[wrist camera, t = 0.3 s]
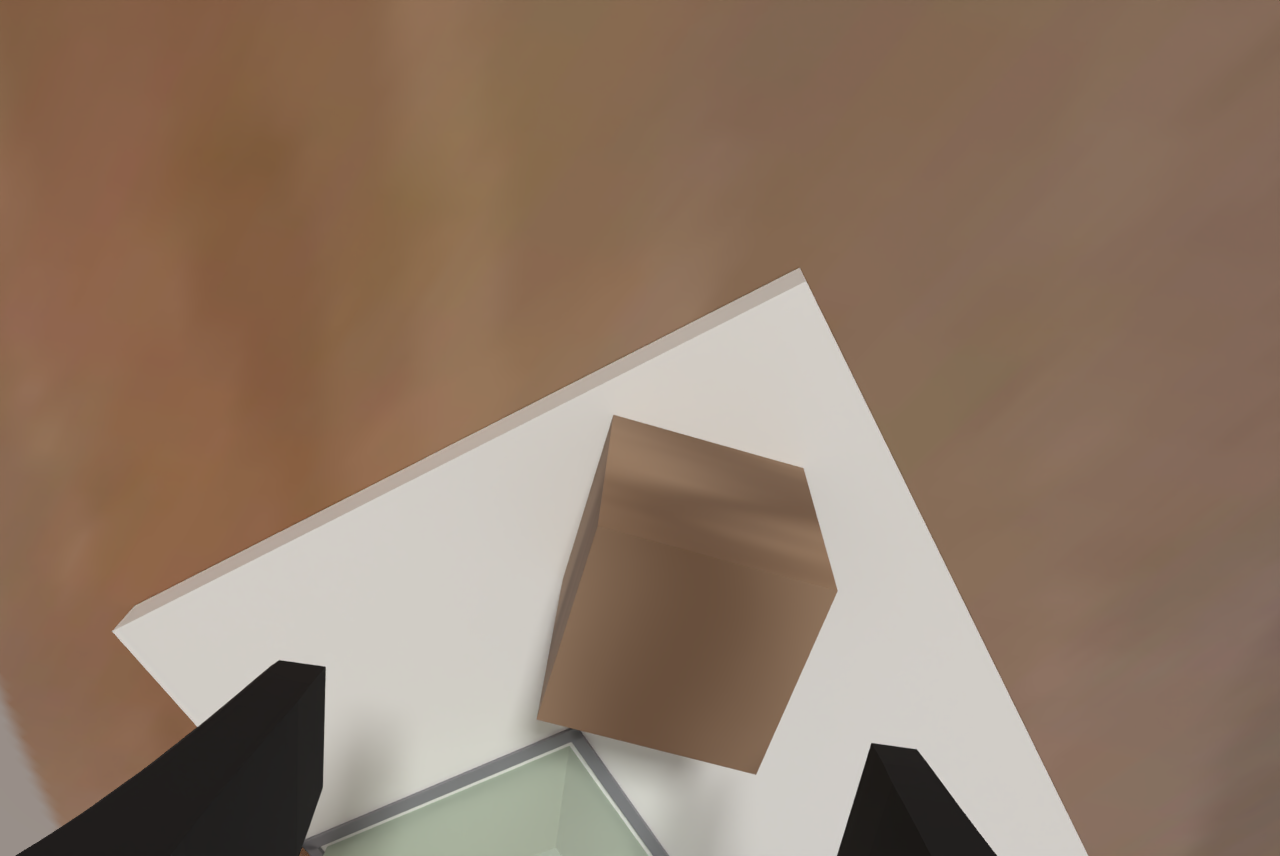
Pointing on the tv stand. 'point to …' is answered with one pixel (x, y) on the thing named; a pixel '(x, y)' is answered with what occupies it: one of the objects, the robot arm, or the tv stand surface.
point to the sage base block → (508, 819)
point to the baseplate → (529, 594)
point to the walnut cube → (687, 598)
